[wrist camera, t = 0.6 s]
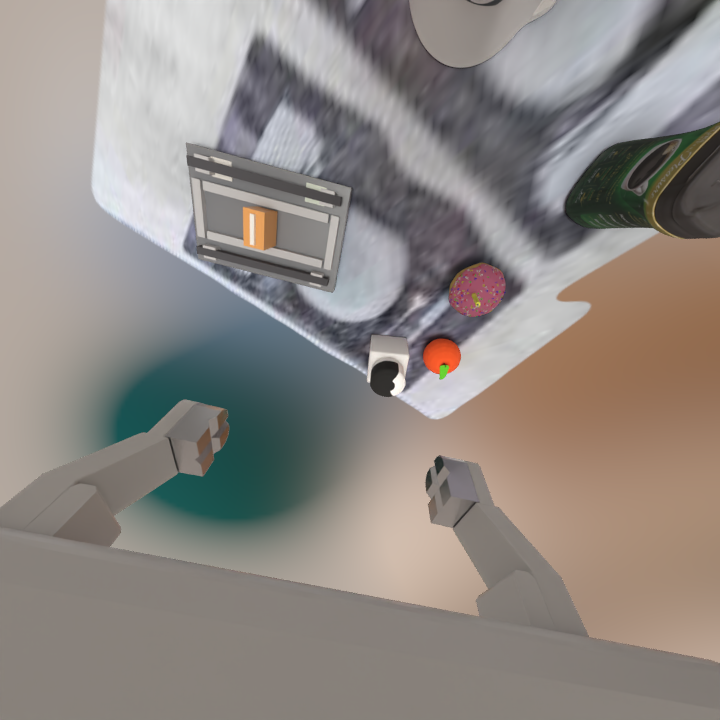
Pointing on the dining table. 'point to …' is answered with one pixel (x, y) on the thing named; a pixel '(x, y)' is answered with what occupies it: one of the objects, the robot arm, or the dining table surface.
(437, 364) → the clementine
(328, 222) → the panel
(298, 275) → the pair of dark pieces
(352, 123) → the dining table surface
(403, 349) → the medicine bottle
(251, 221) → the block
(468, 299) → the cupcake
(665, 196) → the coffee jar
